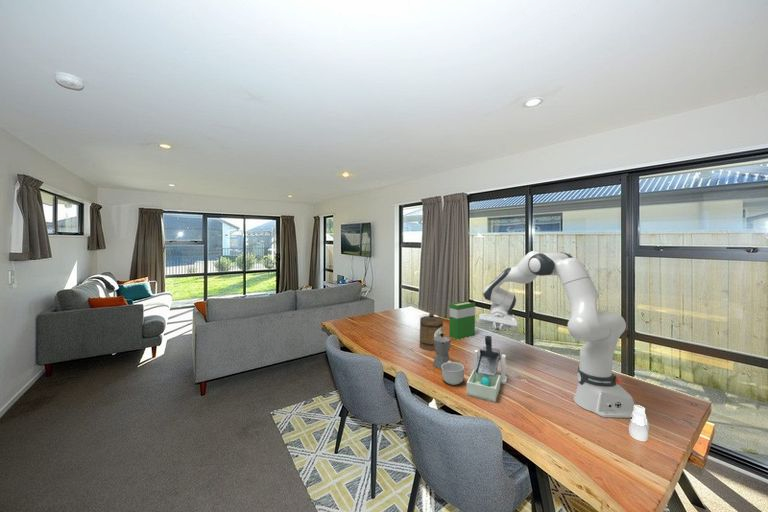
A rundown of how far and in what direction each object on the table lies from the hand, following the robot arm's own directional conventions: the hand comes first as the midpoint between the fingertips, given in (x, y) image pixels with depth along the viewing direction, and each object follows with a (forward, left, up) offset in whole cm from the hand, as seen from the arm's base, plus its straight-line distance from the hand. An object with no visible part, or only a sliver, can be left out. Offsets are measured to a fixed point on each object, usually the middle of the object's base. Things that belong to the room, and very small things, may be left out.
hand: (497, 329), depth 156 cm
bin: (+9, +27, -21) cm, 35 cm away
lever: (+5, +13, -15) cm, 21 cm away
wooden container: (+37, -25, -22) cm, 50 cm away
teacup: (+23, +19, -22) cm, 37 cm away
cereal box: (+17, -50, -22) cm, 57 cm away
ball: (+8, +23, -18) cm, 31 cm away
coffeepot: (+29, +2, -22) cm, 36 cm away
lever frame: (+5, +12, -21) cm, 25 cm away
